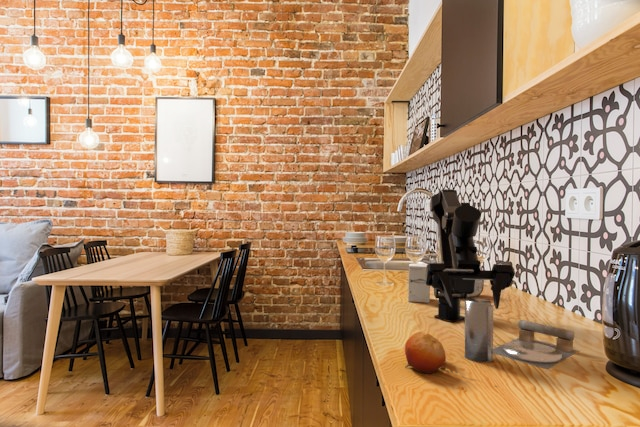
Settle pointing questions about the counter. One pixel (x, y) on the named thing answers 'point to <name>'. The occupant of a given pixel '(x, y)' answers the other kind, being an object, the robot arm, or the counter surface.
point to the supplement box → (418, 284)
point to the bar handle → (562, 342)
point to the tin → (477, 289)
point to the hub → (478, 330)
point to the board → (564, 355)
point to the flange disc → (532, 352)
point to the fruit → (424, 352)
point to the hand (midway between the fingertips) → (474, 307)
